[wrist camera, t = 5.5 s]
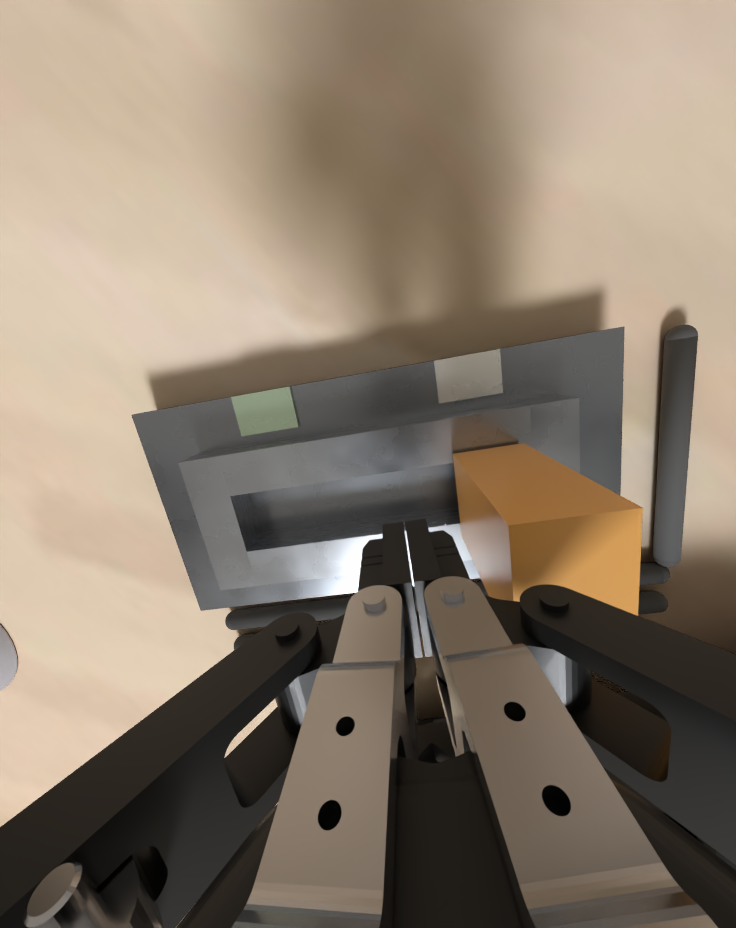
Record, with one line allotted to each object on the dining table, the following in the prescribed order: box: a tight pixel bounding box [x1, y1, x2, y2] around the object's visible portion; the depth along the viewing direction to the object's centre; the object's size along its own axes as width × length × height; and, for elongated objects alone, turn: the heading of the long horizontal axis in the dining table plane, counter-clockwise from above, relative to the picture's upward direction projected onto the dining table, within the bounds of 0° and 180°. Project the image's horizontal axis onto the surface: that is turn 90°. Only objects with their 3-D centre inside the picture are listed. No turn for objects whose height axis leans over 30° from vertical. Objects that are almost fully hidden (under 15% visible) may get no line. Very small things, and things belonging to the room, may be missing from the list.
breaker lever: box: [453, 443, 643, 616], centre depth 13 cm, size 3×4×9 cm
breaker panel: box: [132, 327, 624, 611], centre depth 18 cm, size 24×12×4 cm, turn 100°
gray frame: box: [225, 325, 698, 650], centre depth 20 cm, size 28×16×1 cm, turn 100°
